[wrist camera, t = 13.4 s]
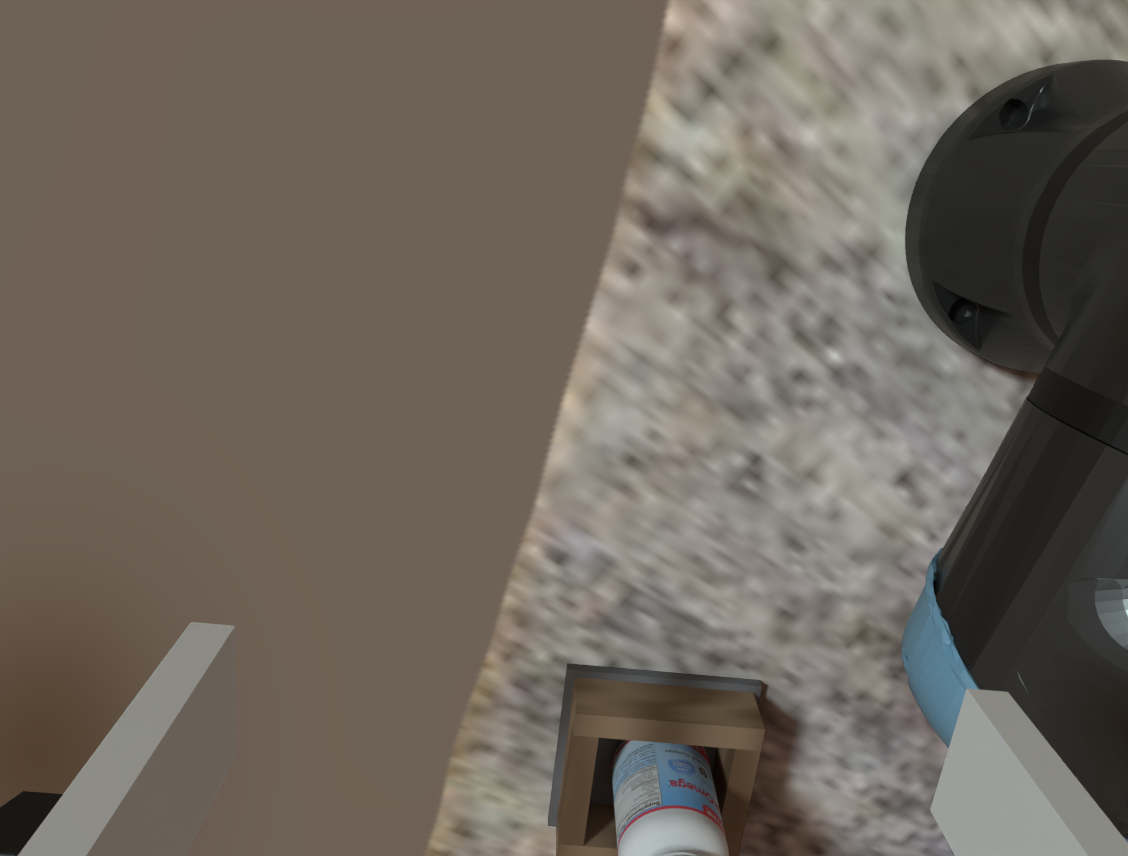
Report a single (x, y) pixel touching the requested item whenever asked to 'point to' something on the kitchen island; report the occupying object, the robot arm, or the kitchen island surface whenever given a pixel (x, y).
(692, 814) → the pill bottle
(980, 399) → the kitchen island surface
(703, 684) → the socket
